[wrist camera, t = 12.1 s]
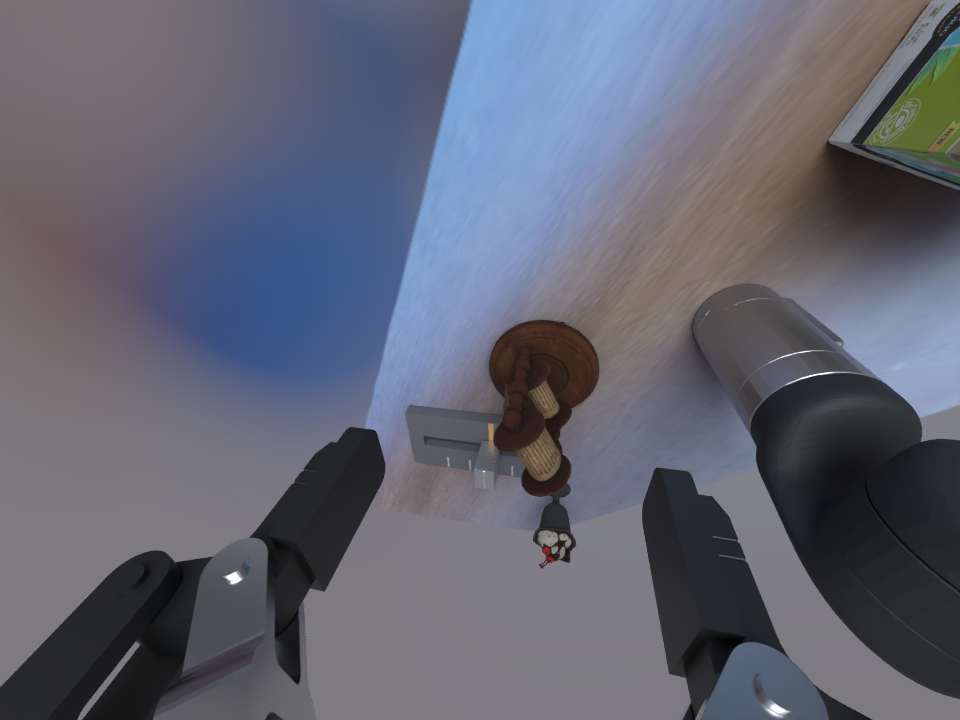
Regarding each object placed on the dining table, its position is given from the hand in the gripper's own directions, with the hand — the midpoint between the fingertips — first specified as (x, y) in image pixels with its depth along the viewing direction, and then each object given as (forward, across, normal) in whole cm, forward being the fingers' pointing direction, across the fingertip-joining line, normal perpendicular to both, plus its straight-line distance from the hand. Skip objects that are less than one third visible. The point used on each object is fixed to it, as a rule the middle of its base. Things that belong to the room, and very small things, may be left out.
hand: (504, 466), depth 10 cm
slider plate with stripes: (+36, +11, +37) cm, 53 cm away
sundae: (+36, -4, +47) cm, 60 cm away
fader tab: (+36, +8, +37) cm, 52 cm away
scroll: (+36, 0, +20) cm, 42 cm away
